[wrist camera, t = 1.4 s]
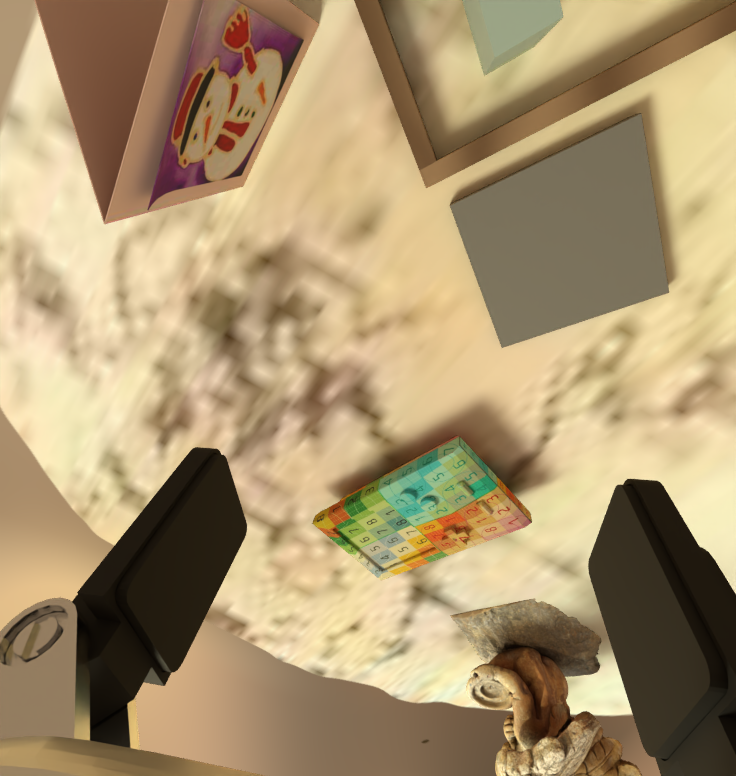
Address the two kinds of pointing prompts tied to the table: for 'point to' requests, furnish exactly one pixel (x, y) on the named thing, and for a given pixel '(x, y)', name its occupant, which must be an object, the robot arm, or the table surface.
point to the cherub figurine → (539, 690)
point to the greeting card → (172, 91)
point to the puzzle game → (423, 511)
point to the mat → (567, 235)
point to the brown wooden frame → (539, 117)
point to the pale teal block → (509, 27)
